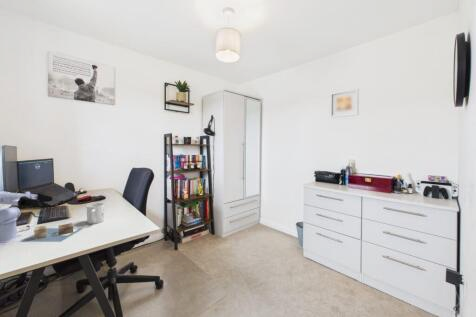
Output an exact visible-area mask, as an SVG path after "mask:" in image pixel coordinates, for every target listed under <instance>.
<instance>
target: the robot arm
mask: <svg viewBox="0 0 476 317" xmlns="http://www.w3.org/2000/svg"><path fill="white" fill-rule="evenodd" d="M53 200H54V197H53V196H51V195H48V194H45V193H44V192H38V193H37V194H35V193H34V194H33V193H31V191H25V192H24V193H19V192H9V191H5V190H0V205H11V207H8V208H7V207H6V208H0V244H5V243H9V242H11V241H13V240H15V239H17V238H19V237H22V236H23V235H22V234H18V233H17V220H18V218H19V217H20V216H21V210H20V209H23V208H26V207H31V206H39V205H40V204H42V203H47V202H48V203H49V202H53ZM16 206H18V207H16Z"/></svg>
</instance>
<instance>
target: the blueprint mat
mask: <svg viewBox="0 0 476 317" xmlns="http://www.w3.org/2000/svg"><path fill="white" fill-rule="evenodd" d="M83 229H84V227H83V228H82V227H80V228H79V227H78V228H74V227H73V233H68V234H64V235H59V227H56V228H55V227H53V228H52V227H51V228H50V227H47V237H46V238H41V239H36V240H35V239H34V234H32V235H30V236H28V237H26V238H24V239H22V240H20V241H19V242H23V243H24V242H25V243H26V242H28V243H29V242H30V243H34V242H37V243H38V242H40V243H41V242H45V243H46V242H47V243H49V242H50V243H51V242H52V243H55V242H57V243H59V242H60V243H61V242H63V241H65V240H66V239H68V238H70V237H71V236H73V235H75V234H78V233H79V232H80V231H82V230H83Z"/></svg>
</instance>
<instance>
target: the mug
mask: <svg viewBox="0 0 476 317" xmlns="http://www.w3.org/2000/svg"><path fill="white" fill-rule="evenodd" d="M104 220H105V203H102V202H94V203H90V204H87V205H86V222H87V224H88V225H96V224H100V223H102V222H103V221H104Z"/></svg>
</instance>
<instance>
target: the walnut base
mask: <svg viewBox="0 0 476 317" xmlns="http://www.w3.org/2000/svg"><path fill="white" fill-rule="evenodd" d="M57 228H59V235H64V234H68V233H73V228H74V225H73V222H71V223H65V224H59V225H58V227H57Z"/></svg>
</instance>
